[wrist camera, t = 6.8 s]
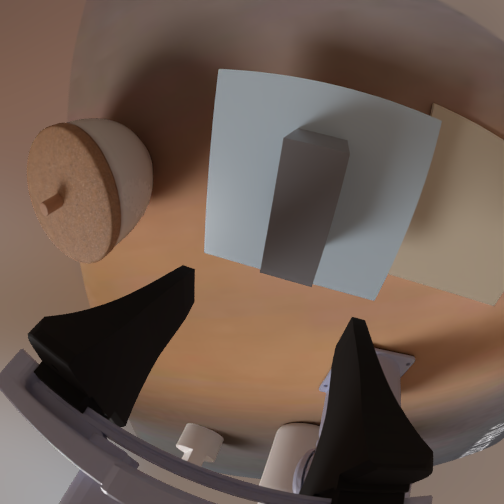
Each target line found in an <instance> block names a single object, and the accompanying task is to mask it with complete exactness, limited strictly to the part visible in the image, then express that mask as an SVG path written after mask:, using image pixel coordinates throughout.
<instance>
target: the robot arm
mask: <svg viewBox="0 0 504 504" xmlns="http://www.w3.org/2000/svg"><path fill="white" fill-rule="evenodd" d="M194 281H195V269H192V268H189V267H186V266H181V267H179V268H177V269H175V270H174V271H172V272H170V273H168V274H166V275H165V276H163V277H161V278H159V279H158V280H156V281H154V282H152V283H150V284H149V285H147V286H145V287H143V288H141V289H139V290H137V291H135V292H133V293H131V294H129V295H126V296H124V297H122V298H120V299H117V300H114V301H112V302H109V303H107V304H104V305H100V306H97V307H94V308H91V309H87V310H83V311H79V312H75V313H69V314H64V315H56V316H48V317H44V318H43V319H42V320H41V321H40V322H39V323H38V324H37V325H36V326H35V327H34V328H33V329H32V330H31V331H30V332H29V333H28V339H29V341H30V343H31V345H32V346H33V348H34V349H35V351H36V352H37V354H38V355H39V357H40V358H41V360H42V362H41V363H40V364H38V363H37V362H36V361H35V360H34V359H33V358H32V357H31V356H30V355H29V354H28V353H27V352H26V351H25V350H24V349H21V350H20V351H19V352H18V353H17V354H16V355H15V356H14V358H13V359H12V360H11V361H10V362H9V363H8V364H7V366H6V367H5V368H4V369H3V370H2V372H1V373H0V390H1V391H2V392H3V393H4V395H5V396H6V397H7V398H8V399H9V401H10V402H11V403H12V404H13V405H14V406H15V408H16V409H17V410H18V411H19V412H20V413H21V414H22V416H23V417H24V418H25V419H26V420H27V421H28V422H29V423H30V424H31V425H32V426H33V427H34V428H35V429H36V430H37V432H38V433H40V434H41V436H43V437H44V438H45V439H46V440H47V441H48V442H49V443H50V444H51V445H52V446H53V447H54V448H55V449H56V450H57V451H59V452H60V453H61V454H62V455H63V456H64V457H65V458H67V459H68V460H69V461H70V462H71V463H73V464H74V465H75V466H76V467H78V468H79V469H80V471H79V472H78V474H77V475H76V477H75V479H74V480H73V482H72V483H71V485H70V487H69V488H68V490H67V491H66V493H65V495H64V496H63V498H62V500H61V501H60V503H59V504H216V503H213V502H210V501H207V500H205V499H202V498H199V497H197V496H194V495H192V494H189V493H187V492H184V491H182V490H180V489H177V488H175V487H172V486H170V485H168V484H166V483H164V482H162V481H160V480H157V479H155V478H153V477H151V476H149V475H147V474H145V473H143V472H141V471H139V470H137V468H138V466H139V463H138V462H136V461H135V460H133V459H132V458H131V457H129V456H128V455H127V453H126V452H125V451H123V450H122V449H120V448H119V447H117V446H116V445H114V444H113V443H111V442H109V441H108V440H107V438H109V439H110V440H112V441H114V442H115V443H117V444H119V445H120V446H122V447H124V448H125V449H127V450H129V451H131V452H132V453H134V454H136V455H138V456H140V457H142V458H144V459H145V460H147V461H149V462H151V463H153V464H155V465H157V466H159V467H161V468H163V469H166V470H168V471H170V472H172V473H174V474H177V475H179V476H181V477H184V478H186V479H188V480H191V481H193V482H196V483H198V484H201V485H204V486H206V487H209V488H212V489H215V490H218V491H221V492H224V493H227V494H230V495H233V496H237V497H240V498H244V499H247V500H251V501H255V502H259V503H263V504H432V496H431V495H430V496H420V497H410V491H411V485H412V483H414V482H417V481H419V480H422V479H424V478H426V477H428V476H429V475H430V474H431V473H432V471H433V451H432V450H431V449H430V447H429V446H428V445H427V444H426V443H425V441H424V440H423V439H422V438H421V437H420V435H419V434H418V433H417V431H416V430H415V429H414V427H413V426H412V424H411V423H410V421H409V420H408V418H407V417H406V415H405V414H404V412H403V410H402V409H401V386H400V378H401V377H402V376H403V374H404V373H405V372H406V371H407V370H408V369H409V368H410V367H411V365H412V364H413V363H414V362H415V357H414V356H410V355H405V354H400V353H396V352H391V351H386V350H382V349H377V348H374V346H373V343H372V340H371V337H370V334H369V331H368V328H367V325H366V322H365V320H362V319H358V318H354V317H352V318H351V320H350V322H349V323H348V325H347V327H346V329H345V331H344V333H343V334H342V336H341V338H340V340H339V342H338V343H337V345H336V348H335V353H334V357H333V362H332V367H331V370H330V371H329V373H328V375H327V376H326V378H325V379H324V381H323V382H322V384H321V385H320V387H319V390H320V391H322V392H326V397H325V403H324V408H323V413H322V419H321V424H320V428H319V440H317V443H316V447H315V449H310V450H308V451H307V452H306V453H305V454H304V456H303V457H302V458H301V459H300V460H299V462H298V464H297V466H296V469H295V472H294V476H293V484H292V488H293V493H290V492H285V491H280V490H276V489H271V488H267V487H263V486H259V485H255V484H252V483H248V482H244V481H241V480H238V479H234V478H231V477H228V476H225V475H222V474H219V473H216V472H214V471H211V470H208V469H205V468H203V467H200V466H198V465H195V464H193V463H190V462H188V461H185V460H183V459H181V458H179V457H176V456H174V455H172V454H170V453H168V452H165V451H163V450H161V449H159V448H157V447H155V446H153V445H151V444H149V443H147V442H145V441H143V440H142V439H140V438H138V437H136V436H134V435H132V434H131V433H129V432H127V431H125V430H124V429H122V428H120V427H124V426H126V423H127V420H128V418H129V416H130V413H131V411H132V408H133V406H134V404H135V402H136V399H137V397H138V395H139V393H140V391H141V389H142V387H143V385H144V383H145V381H146V379H147V377H148V375H149V373H150V371H151V369H152V367H153V365H154V364H155V362H156V360H157V358H158V357H159V355H160V354H161V352H162V351H163V349H164V348H165V347H166V345H167V344H168V343H169V341H170V340H171V338H172V337H173V336H174V334H175V333H176V331H177V330H178V329H179V327H180V326H181V324H182V323H183V322H184V320H185V319H186V317H187V315H188V313H189V311H190V309H191V307H192V305H193V303H194Z"/></svg>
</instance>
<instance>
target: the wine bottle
mask: <svg viewBox="0 0 504 504" xmlns="http://www.w3.org/2000/svg"><path fill="white" fill-rule="evenodd" d="M319 428H320V426H317V425H313V424H308V423H290V424H286V425H283V426H281V427H280V428H279V429H278V431H277V433H276V436H275V439H274V442H273V445H272V448H271V451H270V454H269V457H268V460H267V463H266V466H265V469H264V472H263V475H262V478H261V481H260V484H259V486H263V487H267V488H271V489H276V490H280V491H285V492H290V493H293V488H292V484H293V476H294V472H295V469H296V466H297V464H298V462H299V460H300V459H301V458H302V457H303V456H304V454H305V453H306V452H307V451H308V450H310V449H315V447H316V443H317V440H319ZM258 504H263V503H259V502H258Z"/></svg>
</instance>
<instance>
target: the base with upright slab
mask: <svg viewBox="0 0 504 504" xmlns="http://www.w3.org/2000/svg"><path fill="white" fill-rule="evenodd" d="M223 440H224V439H223V437H222V436H221V435H219V434H218V433H216V432H214V431H212V430H210V429H208V428H206V427H203V426H200V425H197V424H192V423H188V424H187V425H186V427H185V429H184V431H183V433H182V435H181V437H180V439H179V440H178V442H177V444H176V447H177V448H178V449H180V450H181V451H183V452H185V453H184V455H183V457H182V459H183V460H185V461H188V462H190V463H193V464H195V465H198V466H200V467H201V466H202V463H203V461H207V462H214V461H215V459H216V457H217V454H218V452H219V450H220V447H221V445H222V443H223Z"/></svg>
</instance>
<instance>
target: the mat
mask: <svg viewBox="0 0 504 504" xmlns="http://www.w3.org/2000/svg"><path fill="white" fill-rule="evenodd" d="M430 116H432V117H434V118H436V119H438V120H441V121H442V123H441V127H440V131H439V135H438V139H437V143H436V147H435V150H434V154H433V157H432V161H431V164H430V167H429V171H428V174H427V177H426V180H425V183H424V186H423V189H422V192H421V195H420V198H419V200H418V203H417V206H416V209H415V211H414V214H413V216H412V219H411V222H410V224H409V227H408V229H407V232H406V234H405V236H404V239H403V241H402V244H401V246H400V248H399V250H398V253H397V255H396V257H395V259H394V262H393V264H392V266H391V268H390V270H389V272H388V274H390V275H393V276H396V277H400V278H403V279H407V280H410V281H413V282H417V283H420V284H423V285H427V286H430V287H433V288H437V289H440V290H443V291H447V292H450V293H453V294H456V295H460V296H463V297H466V298H469V299H473V300H476V301H479V302H482V303H485V304H489V305H492V306H494V305H495V304H496V302H497V301H498V299H499V298H500V296H501V295H502V293H503V292H504V140H503V139H501V138H500V137H498V136H497V135H495V134H493V133H492V132H490V131H488V130H486V129H485V128H483V127H481V126H479V125H478V124H476V123H474V122H472V121H470V120H468V119H466V118H465V117H463V116H461V115H459V114H457V113H455V112H453V111H450V110H448V109H446V108H444V107H442V106H440V105H437V104H435V103H433V104H432V108H431V113H430Z"/></svg>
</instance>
